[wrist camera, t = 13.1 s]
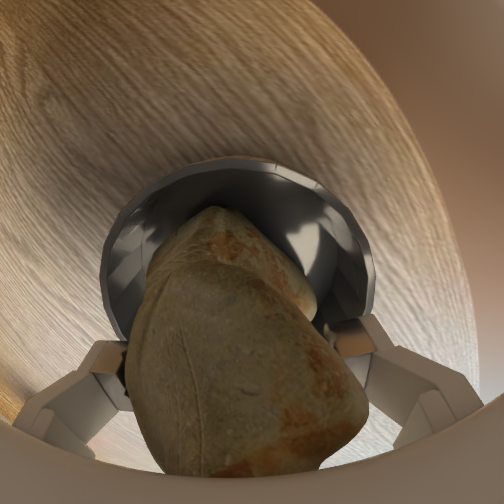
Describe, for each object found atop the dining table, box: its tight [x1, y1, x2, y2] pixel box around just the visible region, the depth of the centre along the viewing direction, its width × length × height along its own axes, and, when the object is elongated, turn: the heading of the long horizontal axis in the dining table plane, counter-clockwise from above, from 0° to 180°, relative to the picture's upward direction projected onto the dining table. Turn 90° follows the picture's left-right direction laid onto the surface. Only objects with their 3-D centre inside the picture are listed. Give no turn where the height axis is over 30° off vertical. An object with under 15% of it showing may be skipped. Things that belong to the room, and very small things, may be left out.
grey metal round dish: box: [99, 155, 376, 341], centre depth 12 cm, size 11×11×4 cm
